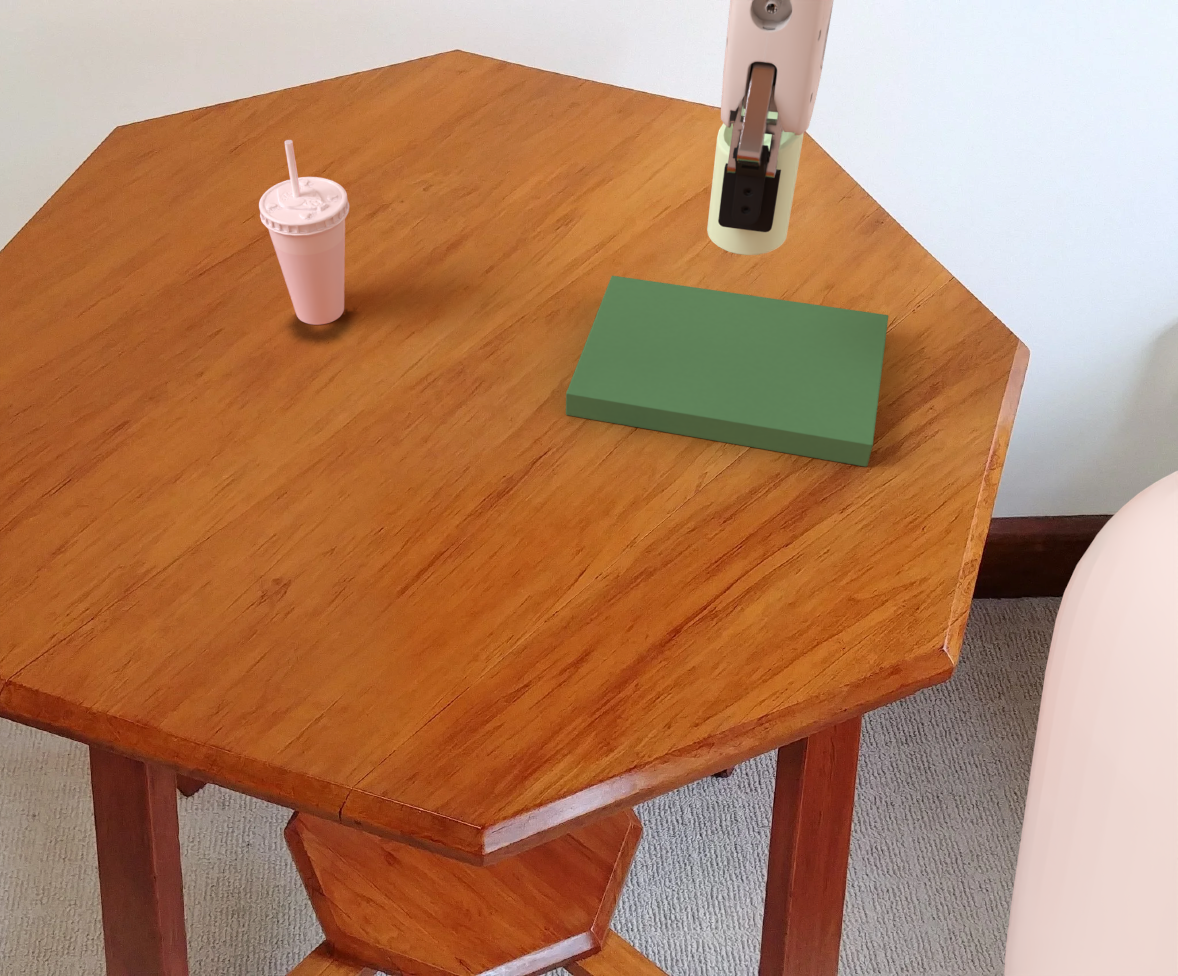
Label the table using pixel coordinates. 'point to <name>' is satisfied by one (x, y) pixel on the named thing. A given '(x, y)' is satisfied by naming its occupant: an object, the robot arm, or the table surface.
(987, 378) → the table surface
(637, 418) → the foam
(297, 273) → the smoothie
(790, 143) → the candle
